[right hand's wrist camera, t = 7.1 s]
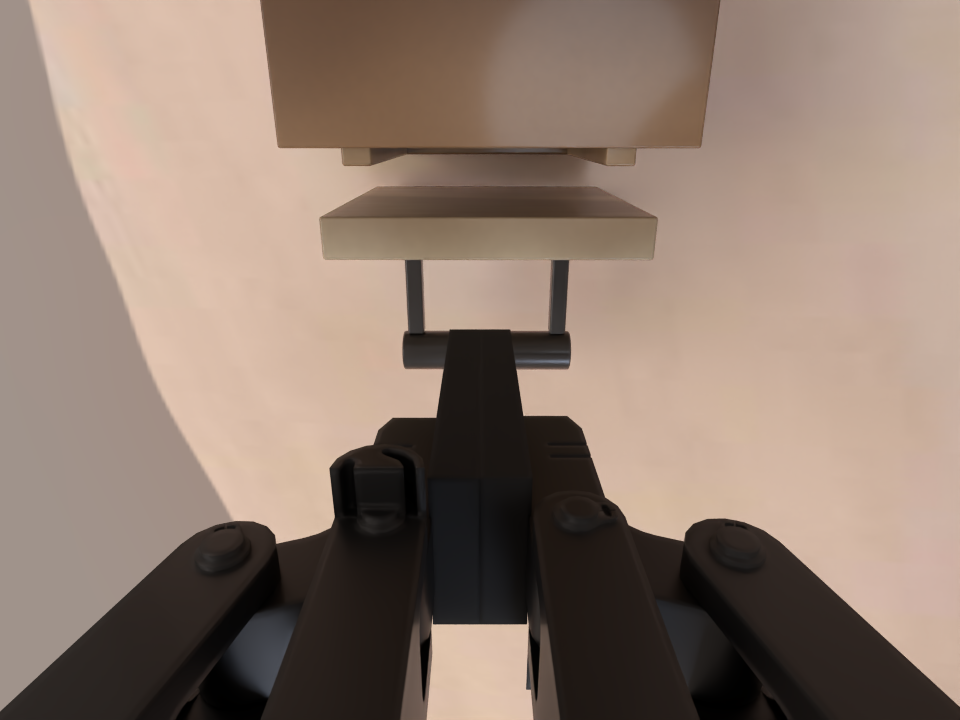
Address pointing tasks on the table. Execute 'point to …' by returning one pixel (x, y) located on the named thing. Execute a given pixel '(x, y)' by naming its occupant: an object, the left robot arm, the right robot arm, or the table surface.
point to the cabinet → (489, 72)
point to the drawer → (488, 239)
